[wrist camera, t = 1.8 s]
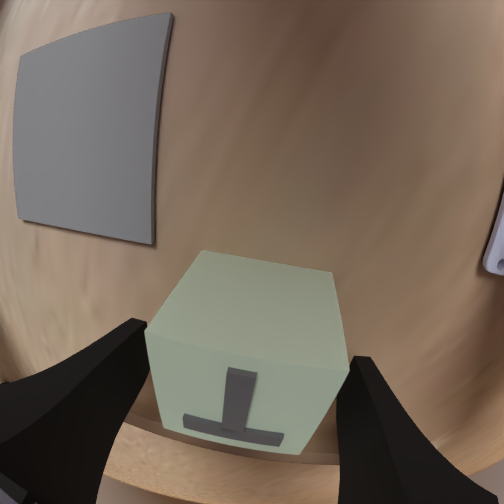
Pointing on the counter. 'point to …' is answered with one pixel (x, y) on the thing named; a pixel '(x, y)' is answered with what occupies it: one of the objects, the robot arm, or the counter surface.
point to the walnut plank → (315, 452)
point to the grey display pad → (92, 129)
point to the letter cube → (248, 352)
